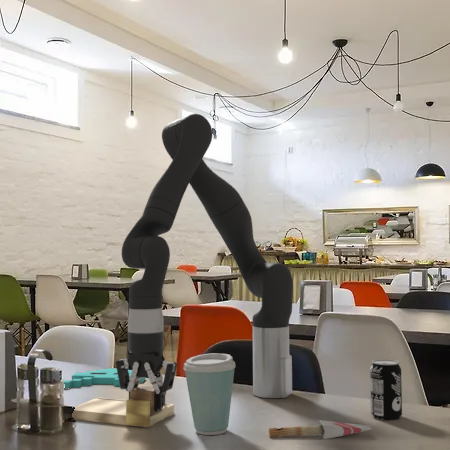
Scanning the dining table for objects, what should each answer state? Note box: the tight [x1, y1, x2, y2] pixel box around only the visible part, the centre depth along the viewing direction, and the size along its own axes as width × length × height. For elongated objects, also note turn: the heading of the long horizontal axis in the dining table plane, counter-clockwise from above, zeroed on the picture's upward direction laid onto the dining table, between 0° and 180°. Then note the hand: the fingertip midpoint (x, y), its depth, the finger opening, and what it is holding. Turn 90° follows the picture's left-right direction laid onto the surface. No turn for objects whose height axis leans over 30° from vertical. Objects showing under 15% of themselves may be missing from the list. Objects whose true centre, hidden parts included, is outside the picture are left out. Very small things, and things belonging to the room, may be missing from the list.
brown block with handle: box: [125, 385, 167, 428], centre depth 138 cm, size 5×13×7 cm, turn 158°
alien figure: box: [62, 367, 147, 391], centre depth 179 cm, size 20×2×20 cm
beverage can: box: [369, 358, 403, 421], centre depth 139 cm, size 7×7×12 cm
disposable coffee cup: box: [182, 352, 236, 436], centre depth 130 cm, size 11×11×15 cm
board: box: [72, 396, 175, 428], centre depth 142 cm, size 20×12×2 cm, turn 68°
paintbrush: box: [268, 419, 373, 440], centre depth 126 cm, size 4×3×20 cm
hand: (146, 409), depth 136 cm, fingers closed on brown block with handle, 5 cm apart
